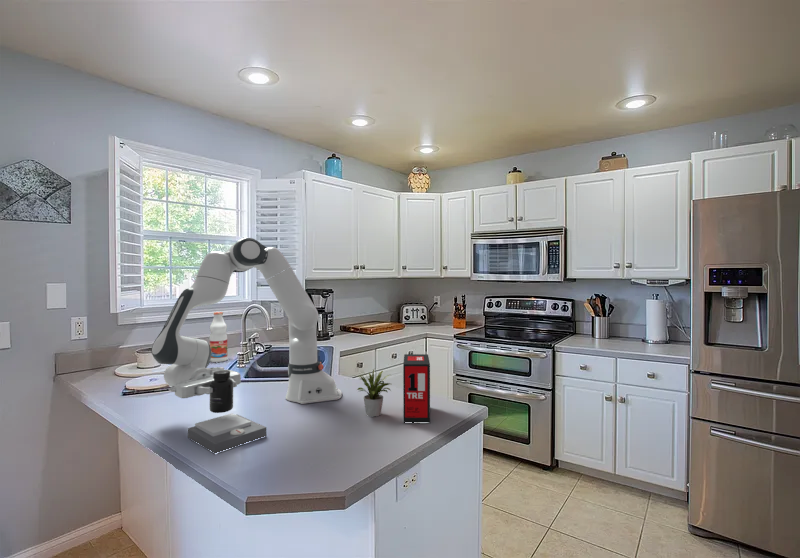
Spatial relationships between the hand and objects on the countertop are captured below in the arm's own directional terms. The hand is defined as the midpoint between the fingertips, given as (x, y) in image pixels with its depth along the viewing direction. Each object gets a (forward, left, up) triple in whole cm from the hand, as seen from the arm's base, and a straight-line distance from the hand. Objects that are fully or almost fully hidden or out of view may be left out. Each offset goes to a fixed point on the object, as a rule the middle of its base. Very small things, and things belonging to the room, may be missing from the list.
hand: (223, 387), depth 128 cm
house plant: (-47, -8, -15) cm, 50 cm away
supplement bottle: (+1, -1, -7) cm, 7 cm away
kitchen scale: (-1, +2, -15) cm, 15 cm away
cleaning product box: (-63, -5, -15) cm, 65 cm away
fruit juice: (+27, -116, -15) cm, 120 cm away
